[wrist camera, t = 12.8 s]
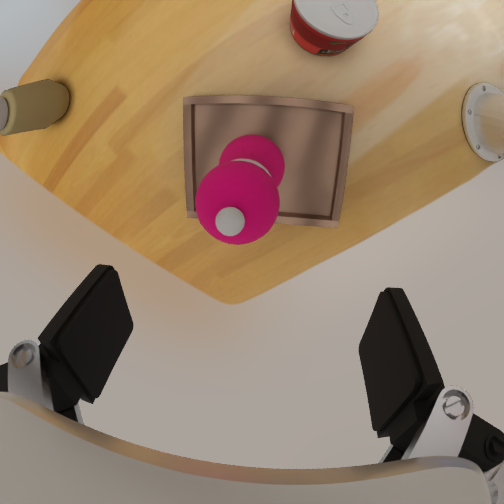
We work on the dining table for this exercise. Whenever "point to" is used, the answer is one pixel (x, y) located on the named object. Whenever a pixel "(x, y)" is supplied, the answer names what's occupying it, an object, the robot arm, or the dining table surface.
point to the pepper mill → (242, 191)
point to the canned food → (331, 23)
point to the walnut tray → (288, 141)
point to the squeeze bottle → (32, 106)
